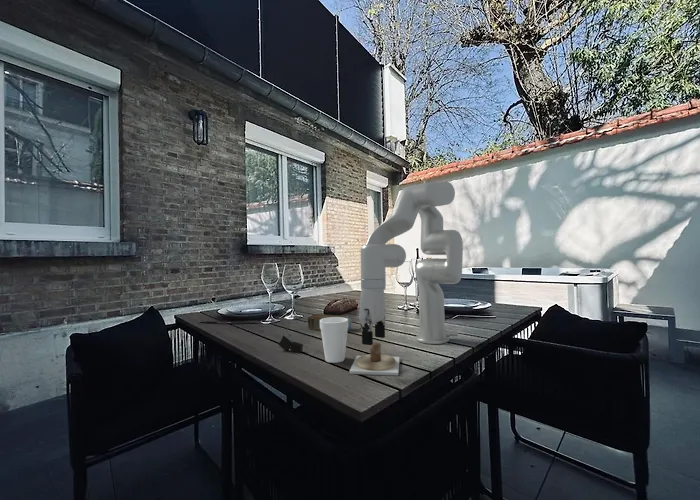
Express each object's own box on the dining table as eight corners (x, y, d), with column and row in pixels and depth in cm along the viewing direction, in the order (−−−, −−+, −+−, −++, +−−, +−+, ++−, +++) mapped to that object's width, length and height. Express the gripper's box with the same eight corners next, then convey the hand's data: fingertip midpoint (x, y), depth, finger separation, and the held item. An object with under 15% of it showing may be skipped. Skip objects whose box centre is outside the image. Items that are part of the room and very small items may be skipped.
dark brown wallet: (299, 357, 121) (306, 345, 120) (295, 359, 119) (303, 346, 117) (281, 342, 123) (288, 330, 122) (278, 344, 121) (284, 332, 120)
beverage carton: (344, 333, 145) (344, 318, 145) (307, 330, 153) (306, 316, 153) (351, 328, 152) (351, 314, 152) (315, 326, 160) (314, 313, 160)
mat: (399, 359, 108) (399, 356, 108) (398, 375, 94) (398, 372, 94) (356, 358, 110) (356, 355, 110) (349, 373, 97) (349, 370, 97)
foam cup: (350, 355, 114) (349, 317, 114) (347, 364, 104) (346, 322, 105) (323, 355, 115) (322, 317, 115) (317, 364, 105) (316, 323, 105)
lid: (396, 357, 107) (395, 338, 107) (394, 371, 95) (394, 350, 95) (359, 356, 109) (358, 338, 109) (353, 370, 97) (352, 349, 97)
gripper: (373, 282, 112) (373, 333, 111) (349, 286, 96) (350, 346, 96) (394, 282, 108) (395, 335, 108) (373, 287, 93) (374, 349, 92)
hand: (373, 340), depth 102 cm, fingers open, 9 cm apart
